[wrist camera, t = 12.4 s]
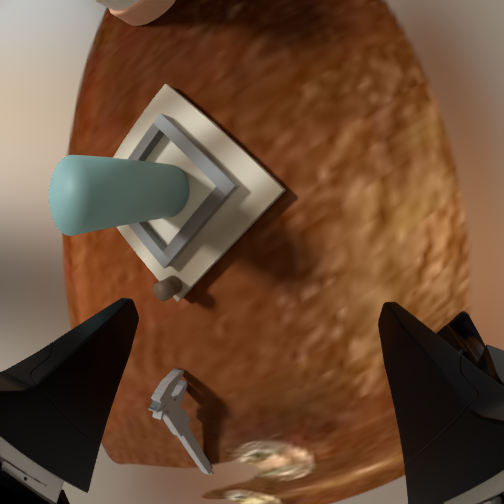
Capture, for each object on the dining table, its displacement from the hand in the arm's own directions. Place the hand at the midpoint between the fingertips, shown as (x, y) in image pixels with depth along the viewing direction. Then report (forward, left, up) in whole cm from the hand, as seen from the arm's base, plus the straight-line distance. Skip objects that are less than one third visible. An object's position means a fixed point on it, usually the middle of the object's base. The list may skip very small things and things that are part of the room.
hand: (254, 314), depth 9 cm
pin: (+11, +4, -11) cm, 16 cm away
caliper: (-9, +24, -13) cm, 29 cm away
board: (+11, +4, -12) cm, 17 cm away
